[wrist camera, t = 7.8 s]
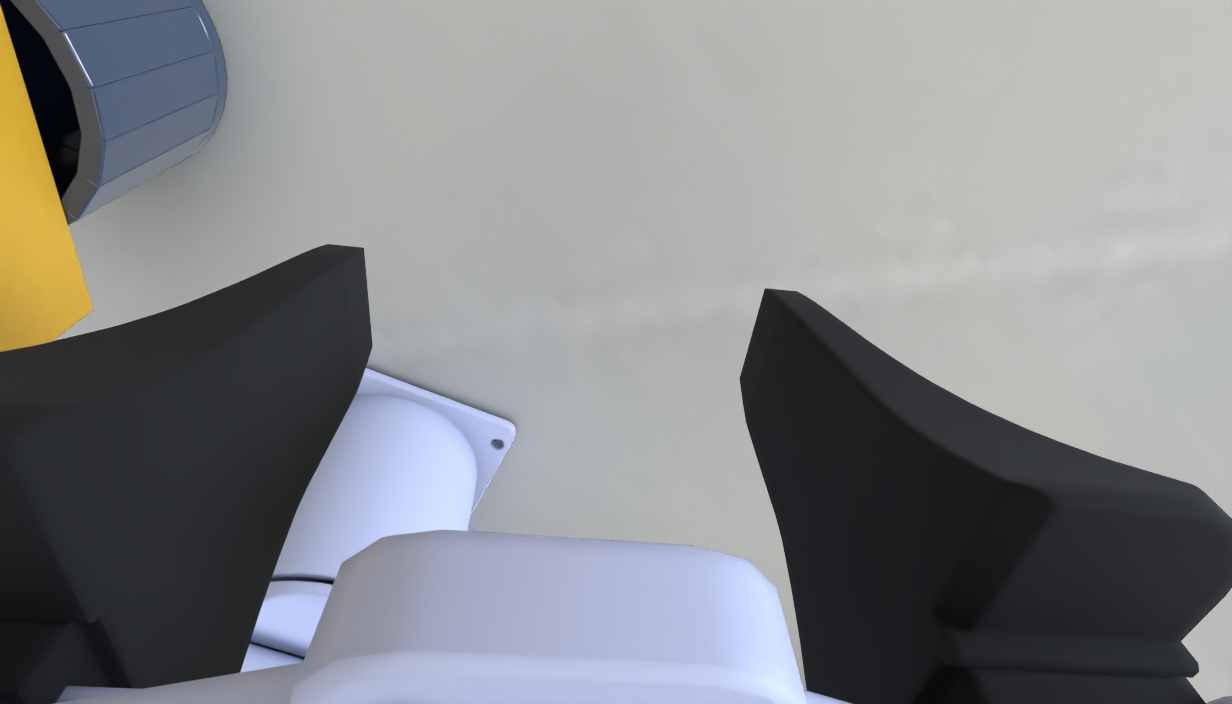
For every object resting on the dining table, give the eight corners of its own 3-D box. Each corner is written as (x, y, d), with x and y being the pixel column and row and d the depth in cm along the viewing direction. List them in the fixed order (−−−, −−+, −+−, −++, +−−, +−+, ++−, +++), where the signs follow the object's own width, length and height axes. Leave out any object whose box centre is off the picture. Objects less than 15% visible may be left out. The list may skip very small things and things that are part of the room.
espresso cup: (203, 207, 21) (85, 292, 16) (-53, 102, 19) (-277, 161, 14) (251, -14, 18) (124, 6, 13) (-47, -166, 16) (-332, -211, 11)
